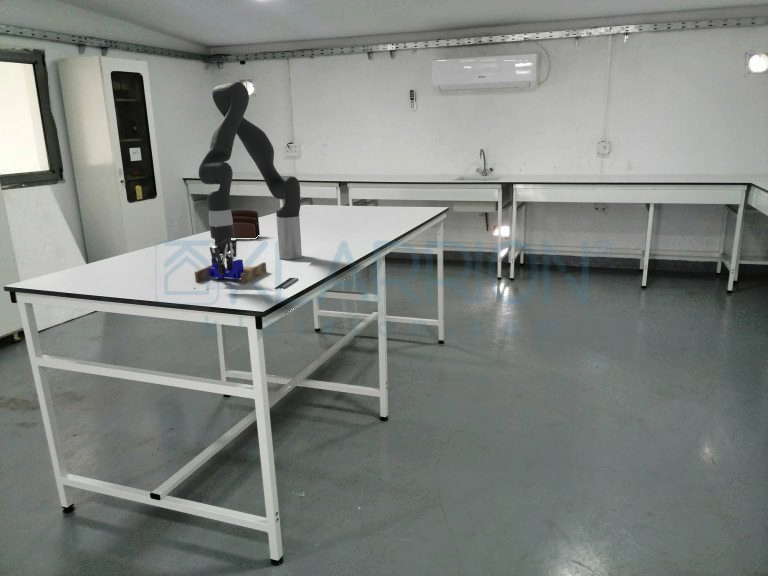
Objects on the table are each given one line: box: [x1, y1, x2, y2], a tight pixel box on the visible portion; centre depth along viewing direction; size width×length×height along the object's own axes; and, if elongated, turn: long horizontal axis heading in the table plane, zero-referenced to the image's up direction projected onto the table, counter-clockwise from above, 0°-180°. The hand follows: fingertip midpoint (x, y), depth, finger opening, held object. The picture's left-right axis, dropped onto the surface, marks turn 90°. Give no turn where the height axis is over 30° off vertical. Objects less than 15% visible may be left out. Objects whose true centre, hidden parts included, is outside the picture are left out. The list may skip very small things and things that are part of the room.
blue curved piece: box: [209, 257, 244, 280], centre depth 188 cm, size 12×4×6 cm, turn 58°
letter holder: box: [231, 209, 261, 238], centre depth 277 cm, size 10×20×14 cm, turn 90°
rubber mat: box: [275, 277, 299, 289], centre depth 189 cm, size 12×11×1 cm
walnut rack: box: [194, 262, 268, 285], centre depth 193 cm, size 17×18×5 cm
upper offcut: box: [225, 265, 256, 272], centre depth 198 cm, size 5×11×2 cm, turn 94°
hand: (226, 272), depth 189 cm, fingers closed on blue curved piece, 5 cm apart
